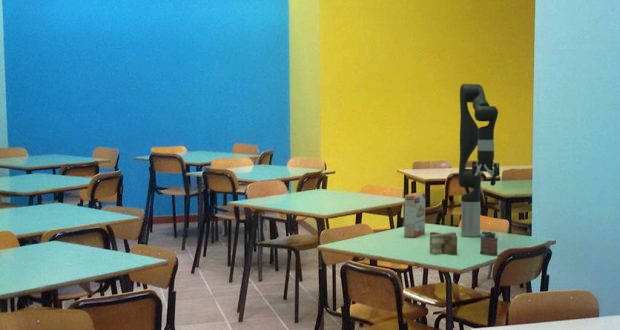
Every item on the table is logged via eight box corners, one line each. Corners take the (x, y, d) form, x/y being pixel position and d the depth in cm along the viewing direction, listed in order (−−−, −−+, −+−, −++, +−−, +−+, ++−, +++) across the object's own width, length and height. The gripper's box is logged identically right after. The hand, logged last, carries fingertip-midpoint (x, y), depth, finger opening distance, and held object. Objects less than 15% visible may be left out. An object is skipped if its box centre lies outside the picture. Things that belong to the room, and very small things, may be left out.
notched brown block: (429, 250, 340) (429, 232, 340) (433, 249, 342) (433, 231, 341) (453, 254, 329) (453, 236, 329) (457, 254, 331) (457, 236, 330)
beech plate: (429, 253, 332) (430, 235, 332) (451, 249, 341) (451, 232, 340) (433, 254, 330) (434, 236, 330) (455, 250, 339) (455, 232, 338)
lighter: (499, 254, 328) (499, 232, 328) (495, 256, 326) (495, 233, 325) (482, 252, 334) (482, 230, 333) (478, 253, 331) (478, 231, 330)
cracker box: (415, 238, 370) (415, 195, 369) (403, 237, 373) (403, 195, 372) (425, 234, 382) (425, 192, 381) (414, 233, 385) (414, 192, 384)
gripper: (468, 149, 351) (467, 184, 352) (492, 150, 340) (492, 186, 341) (478, 148, 356) (478, 182, 357) (503, 149, 344) (503, 185, 346)
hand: (485, 184), depth 349 cm, fingers open, 8 cm apart
